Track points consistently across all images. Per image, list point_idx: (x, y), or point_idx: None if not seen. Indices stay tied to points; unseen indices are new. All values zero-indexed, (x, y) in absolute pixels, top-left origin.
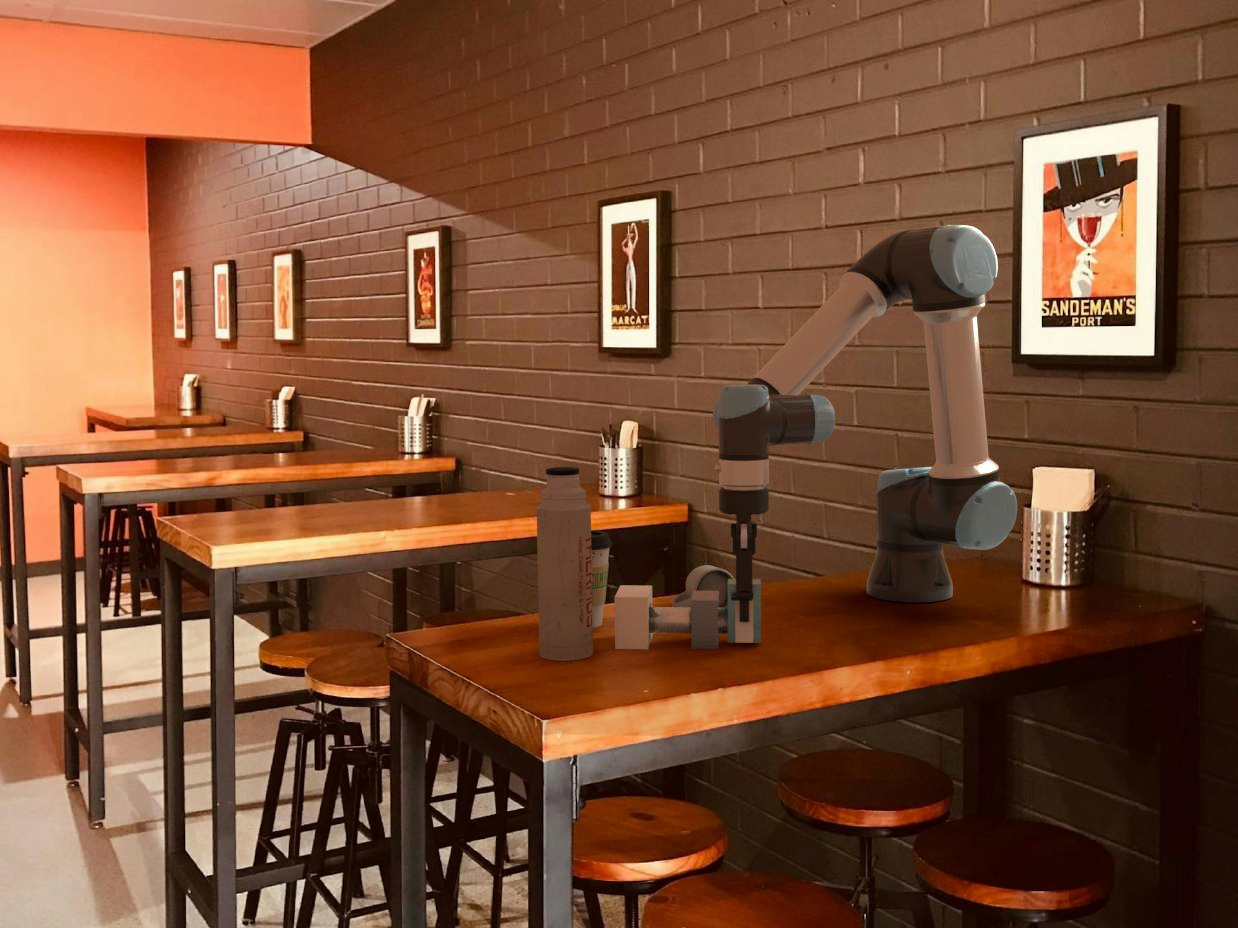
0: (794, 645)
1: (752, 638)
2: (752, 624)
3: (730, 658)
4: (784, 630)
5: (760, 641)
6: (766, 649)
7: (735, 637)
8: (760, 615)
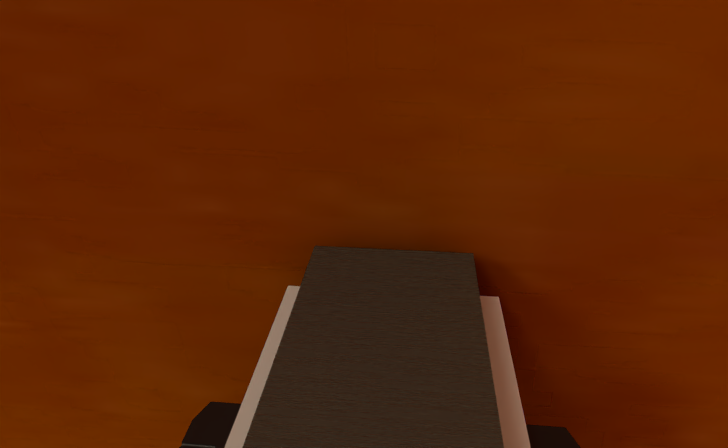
0: (440, 33)
1: (501, 316)
2: (514, 383)
3: (707, 384)
4: (27, 83)
5: (472, 259)
6: (538, 215)
7: None
8: (491, 383)
